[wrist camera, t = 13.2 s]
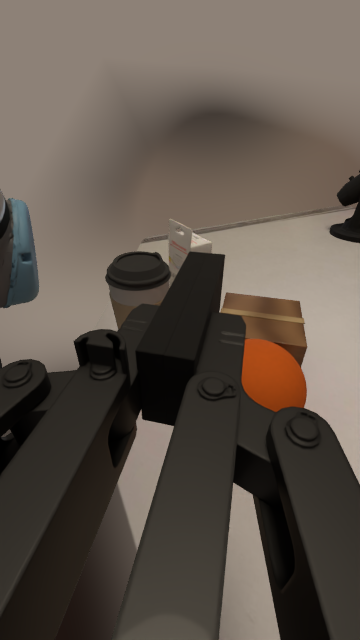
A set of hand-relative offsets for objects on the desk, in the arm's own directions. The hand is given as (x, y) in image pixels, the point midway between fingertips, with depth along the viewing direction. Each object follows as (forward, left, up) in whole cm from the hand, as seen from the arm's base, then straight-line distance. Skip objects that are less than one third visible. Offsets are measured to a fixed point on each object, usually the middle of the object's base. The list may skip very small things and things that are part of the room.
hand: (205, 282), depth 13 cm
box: (0, +25, -25) cm, 35 cm away
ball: (+2, +14, -19) cm, 24 cm away
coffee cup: (-17, +21, -25) cm, 37 cm away
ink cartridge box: (-17, +40, -25) cm, 50 cm away
